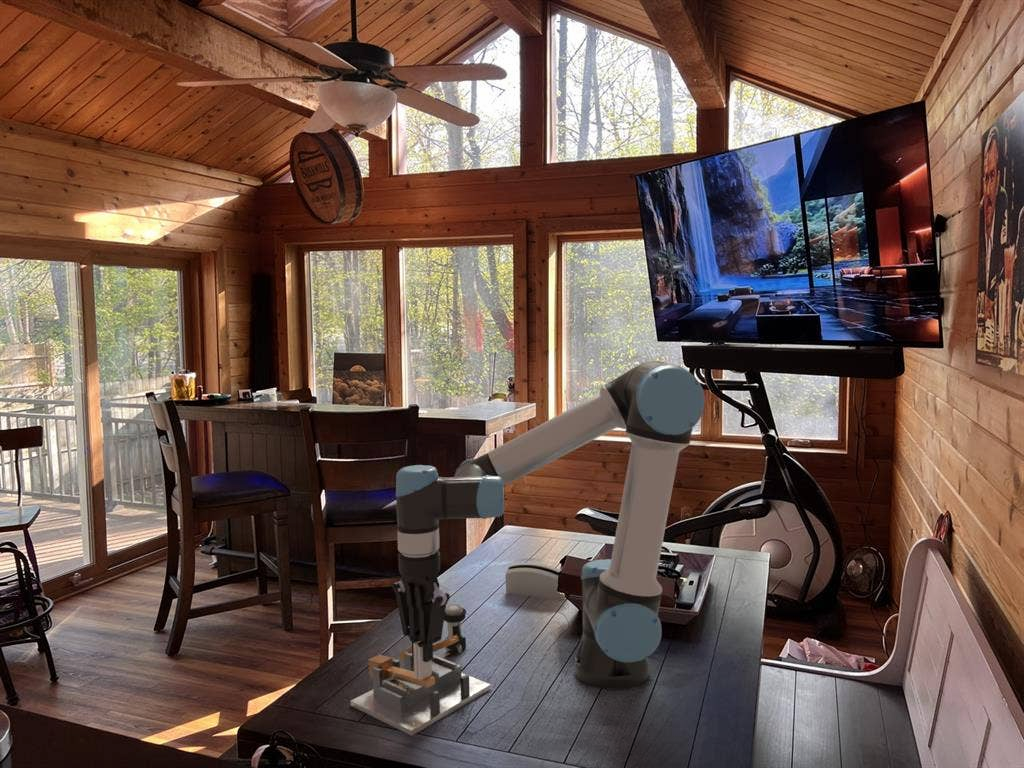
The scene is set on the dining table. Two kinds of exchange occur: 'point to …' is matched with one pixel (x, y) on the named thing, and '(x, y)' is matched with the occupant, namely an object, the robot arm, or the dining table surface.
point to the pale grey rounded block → (533, 580)
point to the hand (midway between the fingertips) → (423, 675)
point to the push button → (455, 628)
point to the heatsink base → (421, 710)
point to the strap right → (435, 646)
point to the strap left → (397, 671)
